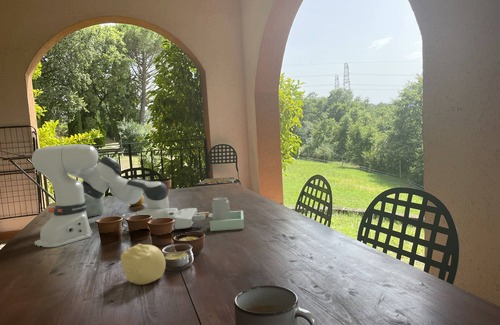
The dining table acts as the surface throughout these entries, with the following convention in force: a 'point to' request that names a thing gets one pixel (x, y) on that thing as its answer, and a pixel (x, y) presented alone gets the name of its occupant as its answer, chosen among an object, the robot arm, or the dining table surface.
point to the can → (220, 209)
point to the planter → (94, 206)
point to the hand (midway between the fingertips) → (205, 216)
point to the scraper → (206, 214)
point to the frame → (229, 222)
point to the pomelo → (143, 264)
